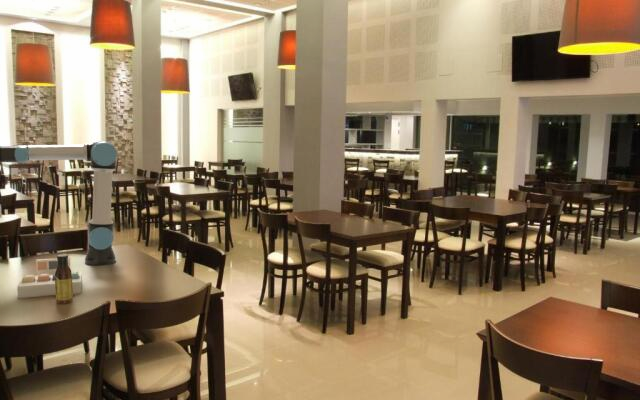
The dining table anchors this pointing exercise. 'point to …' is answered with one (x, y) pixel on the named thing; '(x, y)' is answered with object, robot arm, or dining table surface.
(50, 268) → the placard
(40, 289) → the keypad
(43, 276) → the key
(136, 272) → the dining table surface
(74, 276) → the key
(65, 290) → the sauce bottle
